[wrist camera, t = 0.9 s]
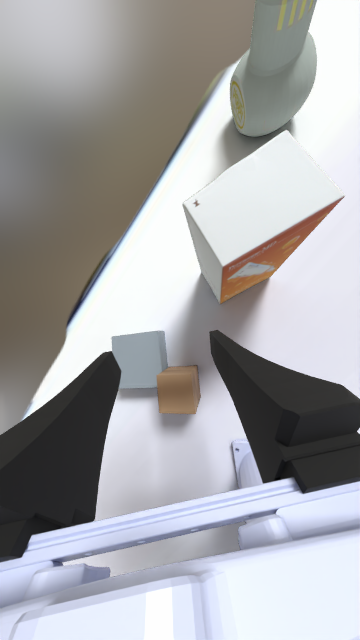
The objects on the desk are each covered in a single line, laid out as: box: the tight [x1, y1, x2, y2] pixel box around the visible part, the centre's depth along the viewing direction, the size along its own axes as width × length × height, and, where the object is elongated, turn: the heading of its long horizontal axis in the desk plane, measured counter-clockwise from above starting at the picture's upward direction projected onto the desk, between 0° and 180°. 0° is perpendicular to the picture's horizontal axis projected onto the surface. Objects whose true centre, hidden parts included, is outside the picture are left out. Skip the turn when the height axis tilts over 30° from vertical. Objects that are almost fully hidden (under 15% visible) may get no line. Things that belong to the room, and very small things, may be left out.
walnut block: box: [156, 365, 201, 414], centre depth 20 cm, size 4×4×5 cm
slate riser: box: [112, 331, 168, 389], centre depth 24 cm, size 8×8×3 cm
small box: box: [183, 130, 345, 304], centre depth 16 cm, size 8×6×13 cm
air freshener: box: [230, 0, 317, 137], centre depth 19 cm, size 11×8×10 cm
